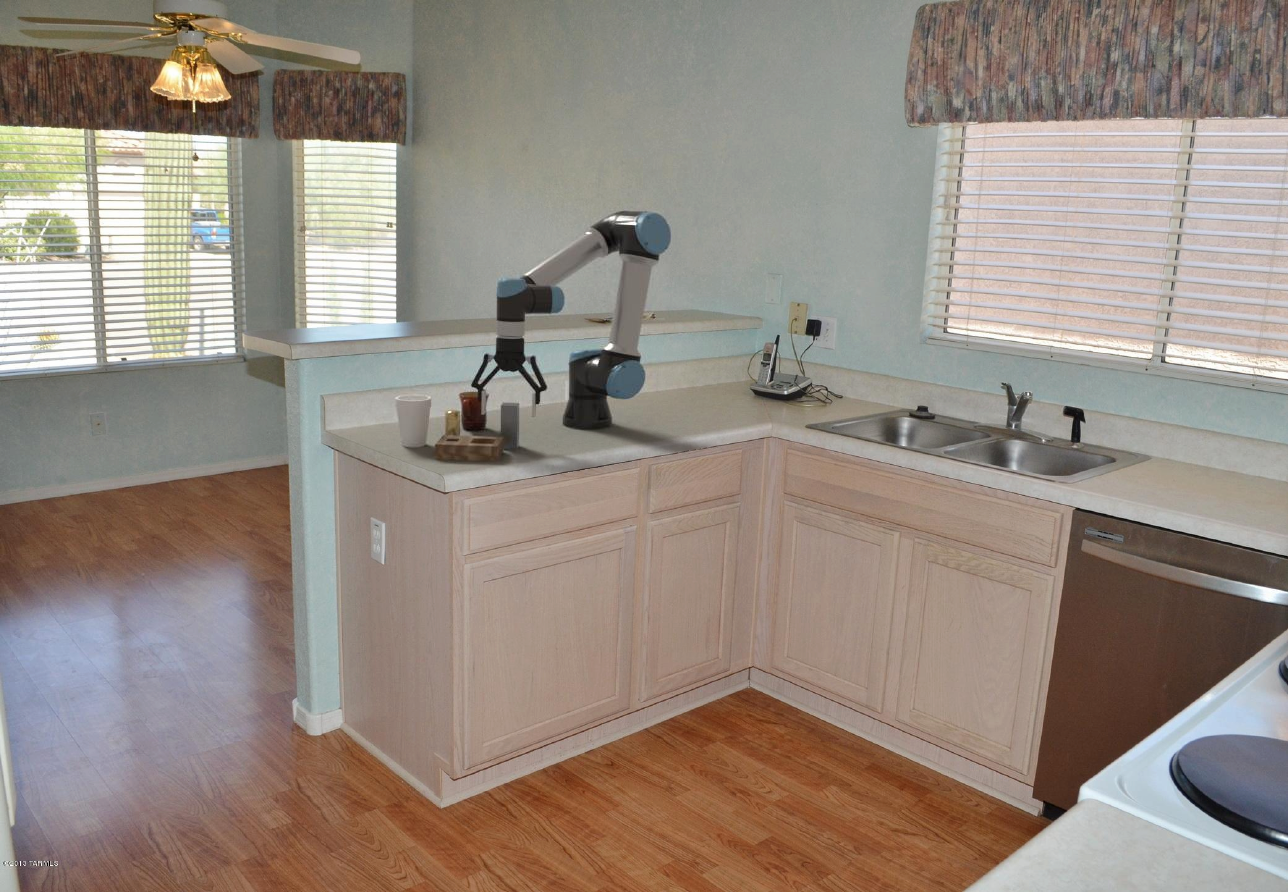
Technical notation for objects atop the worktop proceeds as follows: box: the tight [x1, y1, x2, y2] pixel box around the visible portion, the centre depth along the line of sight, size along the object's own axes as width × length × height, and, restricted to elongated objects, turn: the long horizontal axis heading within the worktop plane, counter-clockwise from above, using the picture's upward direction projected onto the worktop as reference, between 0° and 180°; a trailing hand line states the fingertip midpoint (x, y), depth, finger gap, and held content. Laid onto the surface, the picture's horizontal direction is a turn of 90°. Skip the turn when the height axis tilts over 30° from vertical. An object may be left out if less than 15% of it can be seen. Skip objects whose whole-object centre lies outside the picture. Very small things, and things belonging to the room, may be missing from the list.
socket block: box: [434, 434, 504, 462], centre depth 272 cm, size 16×11×4 cm
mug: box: [458, 391, 490, 431], centre depth 302 cm, size 12×9×10 cm
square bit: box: [500, 402, 520, 450], centre depth 282 cm, size 4×4×12 cm
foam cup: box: [394, 394, 432, 448], centre depth 281 cm, size 10×9×13 cm
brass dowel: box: [444, 409, 461, 436], centre depth 284 cm, size 4×4×9 cm
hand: (508, 415), depth 281 cm, fingers open, 13 cm apart
